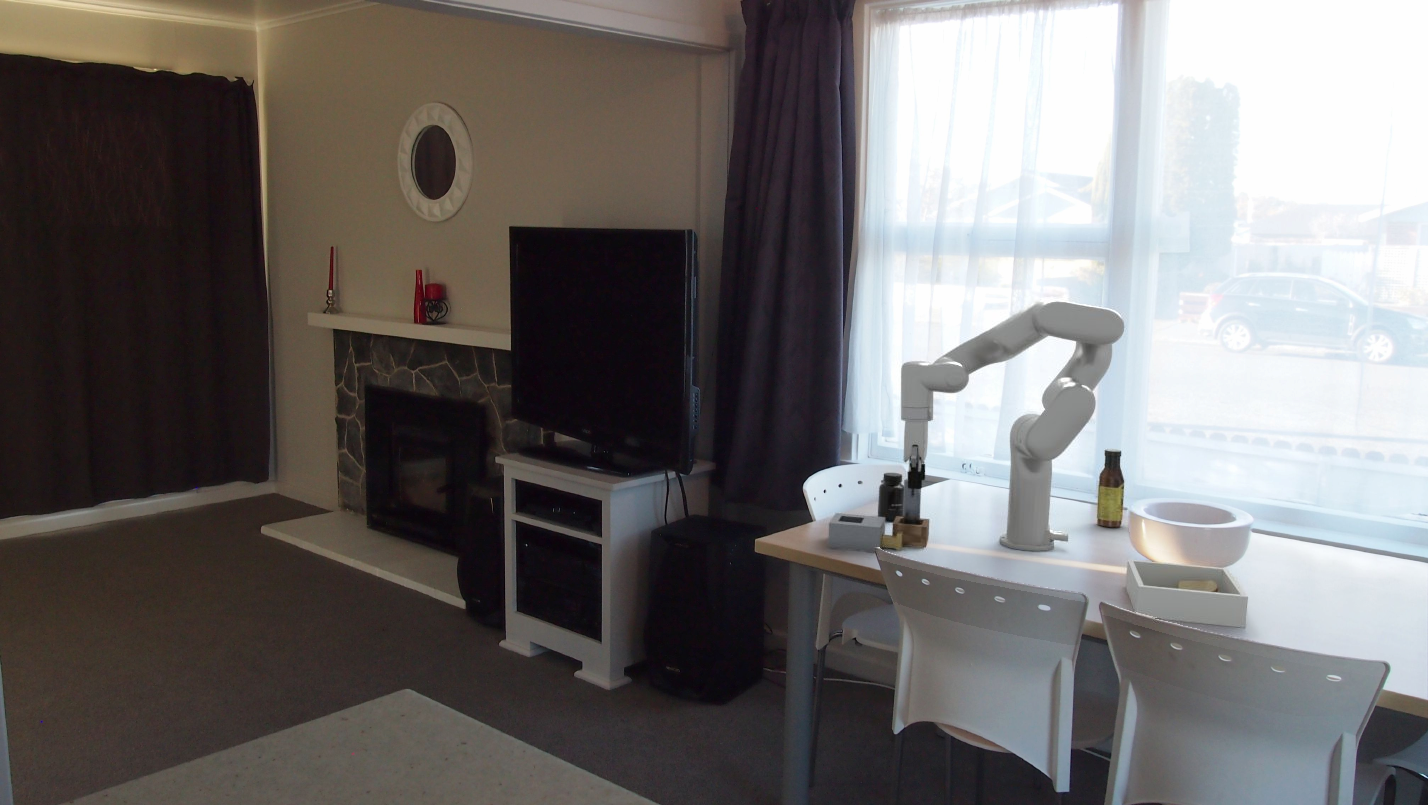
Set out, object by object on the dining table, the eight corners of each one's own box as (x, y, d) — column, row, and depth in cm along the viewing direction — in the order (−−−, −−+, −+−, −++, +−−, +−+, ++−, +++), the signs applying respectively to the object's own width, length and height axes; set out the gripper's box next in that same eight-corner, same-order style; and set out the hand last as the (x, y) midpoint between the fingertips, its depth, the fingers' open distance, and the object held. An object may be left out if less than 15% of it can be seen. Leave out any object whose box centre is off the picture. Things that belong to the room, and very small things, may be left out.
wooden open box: (928, 539, 249) (929, 519, 248) (925, 547, 241) (926, 527, 241) (895, 536, 251) (896, 516, 250) (891, 544, 243) (892, 524, 243)
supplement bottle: (896, 523, 263) (898, 478, 262) (872, 519, 267) (874, 474, 266) (908, 518, 269) (910, 474, 267) (885, 514, 273) (887, 470, 271)
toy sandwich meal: (1152, 590, 213) (1153, 568, 213) (1223, 602, 206) (1225, 580, 205) (1140, 606, 203) (1142, 583, 202) (1214, 620, 196) (1217, 596, 195)
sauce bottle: (1125, 528, 262) (1131, 452, 260) (1101, 528, 262) (1106, 452, 260) (1116, 522, 269) (1121, 448, 266) (1092, 521, 269) (1097, 447, 266)
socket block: (884, 541, 246) (885, 517, 245) (879, 552, 236) (880, 527, 236) (835, 537, 249) (835, 513, 248) (828, 547, 240) (829, 522, 239)
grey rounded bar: (920, 536, 247) (921, 479, 246) (918, 540, 244) (920, 482, 242) (903, 534, 249) (905, 478, 247) (901, 538, 245) (903, 481, 243)
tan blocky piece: (902, 546, 242) (903, 531, 241) (901, 550, 238) (901, 535, 238) (863, 542, 244) (864, 528, 244) (861, 546, 241) (862, 531, 240)
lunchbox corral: (1224, 596, 209) (1227, 568, 208) (1245, 627, 191) (1248, 597, 190) (1125, 587, 214) (1127, 559, 213) (1136, 616, 196) (1138, 586, 195)
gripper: (904, 408, 251) (904, 476, 253) (897, 418, 235) (897, 491, 237) (935, 408, 249) (935, 477, 251) (930, 419, 233) (929, 492, 235)
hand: (916, 484), depth 244 cm, fingers open, 9 cm apart
